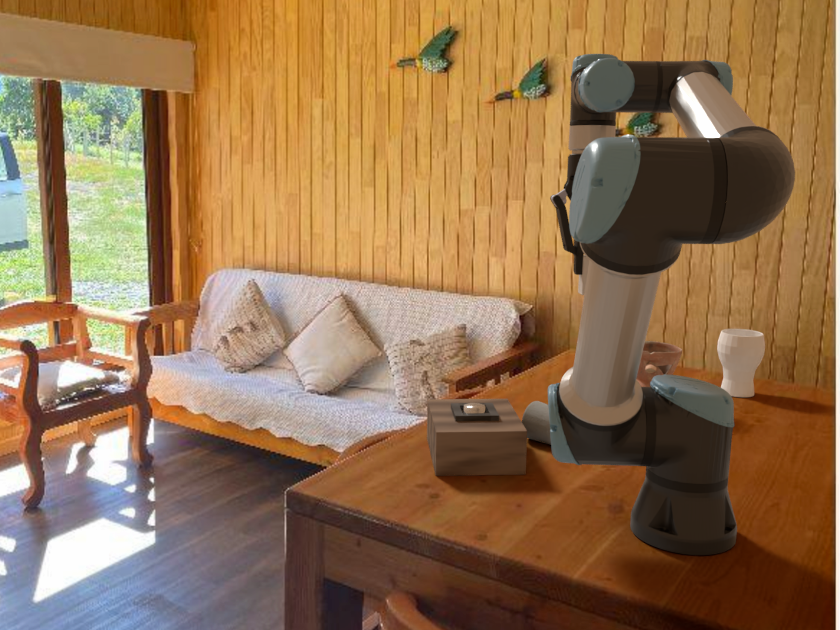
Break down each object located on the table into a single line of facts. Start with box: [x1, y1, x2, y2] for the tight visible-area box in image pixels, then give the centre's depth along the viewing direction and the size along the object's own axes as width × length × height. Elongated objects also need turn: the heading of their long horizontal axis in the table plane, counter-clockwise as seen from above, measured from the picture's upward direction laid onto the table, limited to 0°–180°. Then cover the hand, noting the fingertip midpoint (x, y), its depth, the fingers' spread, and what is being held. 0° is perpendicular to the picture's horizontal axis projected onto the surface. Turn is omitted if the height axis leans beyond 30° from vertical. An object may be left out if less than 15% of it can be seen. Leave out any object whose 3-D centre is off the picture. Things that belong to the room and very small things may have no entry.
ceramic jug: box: [636, 340, 683, 387], centre depth 186 cm, size 18×14×14 cm
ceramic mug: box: [521, 400, 551, 446], centre depth 162 cm, size 11×8×8 cm
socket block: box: [426, 398, 528, 477], centre depth 153 cm, size 20×16×9 cm
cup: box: [716, 328, 766, 398], centre depth 197 cm, size 11×11×15 cm
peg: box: [464, 403, 485, 413], centre depth 153 cm, size 4×4×8 cm
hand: (584, 293), depth 140 cm, fingers closed
